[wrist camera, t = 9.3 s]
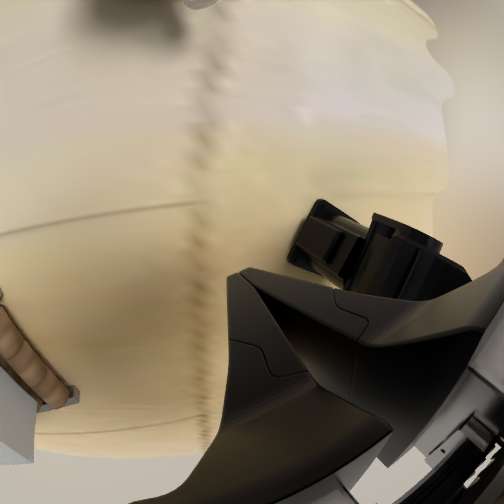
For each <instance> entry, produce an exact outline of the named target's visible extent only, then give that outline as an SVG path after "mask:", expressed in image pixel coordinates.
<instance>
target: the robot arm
mask: <svg viewBox="0 0 504 504" xmlns="http://www.w3.org/2000/svg"><path fill="white" fill-rule="evenodd" d="M321 203H322V206H321ZM442 245H443V243H441V242H440V241H438V240H436V239H435V238H433V237H431V236H429V235H427V234H425V233H423V232H421V231H419V230H417V229H414V228H412V227H410V226H408V225H405V224H403V223H400V222H398V221H395V220H393V219H390V218H387V217H385V216H382V215H379V214H377V213H374V214H373V216H372V222H371V225H370V227H369V228H367V227H365V226H363V225H361V224H360V223H358V222H357V221H356V220H354V219H353V218H351V217H350V216H348V215H347V214H345V213H344V212H342V211H341V210H339V209H338V208H336V207H335V206H333V205H332V204H330V203H329V202H327V201H326V200H323V199H319V200H317V202H316V204H315V206H314V208H313V210H312V212H311V214H310V216H309V218H308V219H307V221H306V223H305V225H304V227H303V229H302V231H301V233H300V235H299V237H298V239H297V241H296V242H295V244H294V246H293V248H292V250H291V252H290V254H289V256H288V258H287V259H288V262H289V263H291V264H292V265H295V266H297V267H300V268H303V269H305V270H308V271H310V272H313V273H316V274H318V275H321V276H323V277H325V278H326V279H328V280H329V281H330V282H332V283H333V284H334V285H336V286H337V287H338V288H339V289H336V288H334V290H333V288H332V287H328V286H324V285H319V284H315V283H311V282H307V281H303V280H299V279H295V278H291V277H287V276H283V275H279V274H275V273H271V272H267V271H263V270H259V269H255V268H251V267H249V268H246V269H244V270H242V271H240V272H239V273H235V274H232V275H230V276H228V277H227V313H228V340H229V342H228V345H229V365H228V376H227V384H226V391H225V398H224V405H223V412H222V419H221V423H220V427H219V431H218V433H217V435H216V437H215V439H214V440H213V442H212V443H211V445H210V446H209V448H208V449H207V451H206V452H205V454H204V456H203V457H202V458H201V460H200V461H199V463H198V464H197V465H196V467H195V468H194V470H193V471H192V473H191V474H190V475H189V477H188V478H187V479H186V480H185V482H184V483H183V484H182V485H181V486H179V487H178V488H177V489H175V490H174V491H171V492H169V493H168V494H165V495H162V496H159V497H155V498H149V499H145V500H139V501H134V502H132V503H129V504H359V503H358V502H357V500H356V499H355V498H354V497H353V496H352V494H351V493H350V492H349V491H350V490H351V489H352V487H353V486H354V485H355V484H356V483H357V482H358V480H359V479H360V478H361V477H362V475H363V474H364V472H365V471H366V470H367V469H368V468H369V466H370V465H371V463H372V462H373V461H374V459H375V458H376V457H377V458H378V459H379V460H380V461H381V462H382V463H383V464H384V465H385V466H386V467H387V468H388V467H390V466H391V465H392V464H394V463H395V462H396V461H397V460H398V459H400V458H401V457H402V456H403V455H404V454H405V453H407V452H408V451H409V450H410V449H411V448H412V447H413V446H415V447H416V448H417V449H418V450H419V451H420V452H421V453H422V454H423V455H424V456H425V457H426V459H425V461H426V463H427V464H428V465H429V466H430V467H431V468H432V470H431V471H430V472H429V473H428V474H427V475H426V476H425V477H424V478H423V479H422V480H420V481H419V482H418V483H417V484H416V485H415V486H414V487H412V488H411V489H410V490H409V491H408V492H406V493H405V494H404V495H403V496H402V497H400V498H399V499H398V500H396V501H395V502H394V503H393V504H504V259H503V260H502V262H501V263H500V264H499V265H498V266H497V267H496V268H494V269H493V270H491V271H490V272H488V273H487V274H485V275H483V276H481V277H479V278H477V279H475V280H473V281H472V280H471V278H470V277H469V275H468V274H467V272H466V270H465V269H464V267H462V266H461V265H459V264H457V263H455V262H454V261H452V260H450V259H448V258H446V257H444V256H442V255H440V254H439V253H440V250H441V248H442ZM293 257H295V258H294V259H293ZM292 259H293V260H292ZM340 289H341V290H340ZM495 443H497V444H498V445H499V446H501V449H499V450H498V451H497V452H496V453H495V454H494V455H493V456H492V458H491V460H492V461H491V462H490V463H489V464H488V465H487V467H486V468H485V469H484V470H483V471H481V472H480V474H479V475H478V476H477V477H476V478H475V480H474V481H473V482H472V483H471V484H470V486H469V487H468V488H466V487H465V486H464V483H465V481H466V480H467V479H469V478H470V477H471V476H473V475H474V474H475V470H476V468H477V467H479V466H480V465H481V464H482V463H483V462H484V461H485V460H486V458H485V457H486V456H487V455H488V454H489V453H490V452H491V451H492V450H493V449H494V448H495Z"/></svg>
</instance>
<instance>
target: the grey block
mask: <svg viewBox="0 0 504 504" xmlns="http://www.w3.org/2000/svg"><path fill="white" fill-rule="evenodd" d="M37 403H38V402H36V401H35V400H34V399H33V398H32V397H31V396H30V395H29V394H28V393H26V392H25V391H24V390H23V389H22V388H21V387H20V386H19V385H18V384H17V383H16V382H15V381H14V380H13V379H12V378H11V377H10V376H9V375H8V374H7V373H6V372H5V371H4V370H3V369H2V367H1V366H0V465H14V464H29V463H33V458H34V455H33V454H34V433H35V421H36V411H37Z"/></svg>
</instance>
